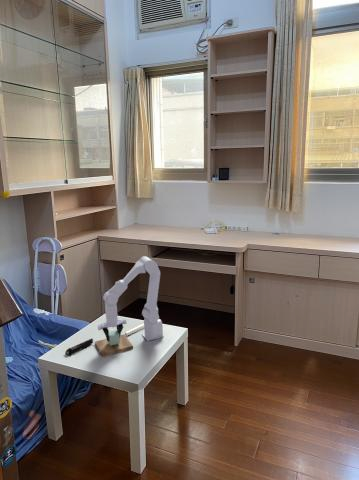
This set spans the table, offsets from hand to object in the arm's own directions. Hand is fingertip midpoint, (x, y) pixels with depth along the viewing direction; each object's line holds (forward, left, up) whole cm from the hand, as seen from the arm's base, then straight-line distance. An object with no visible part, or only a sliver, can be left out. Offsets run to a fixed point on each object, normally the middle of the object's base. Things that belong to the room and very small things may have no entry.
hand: (113, 339), depth 181 cm
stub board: (0, 0, -4) cm, 4 cm away
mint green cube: (0, 0, -2) cm, 2 cm away
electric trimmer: (+16, -6, -4) cm, 18 cm away
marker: (-17, -11, -4) cm, 20 cm away
